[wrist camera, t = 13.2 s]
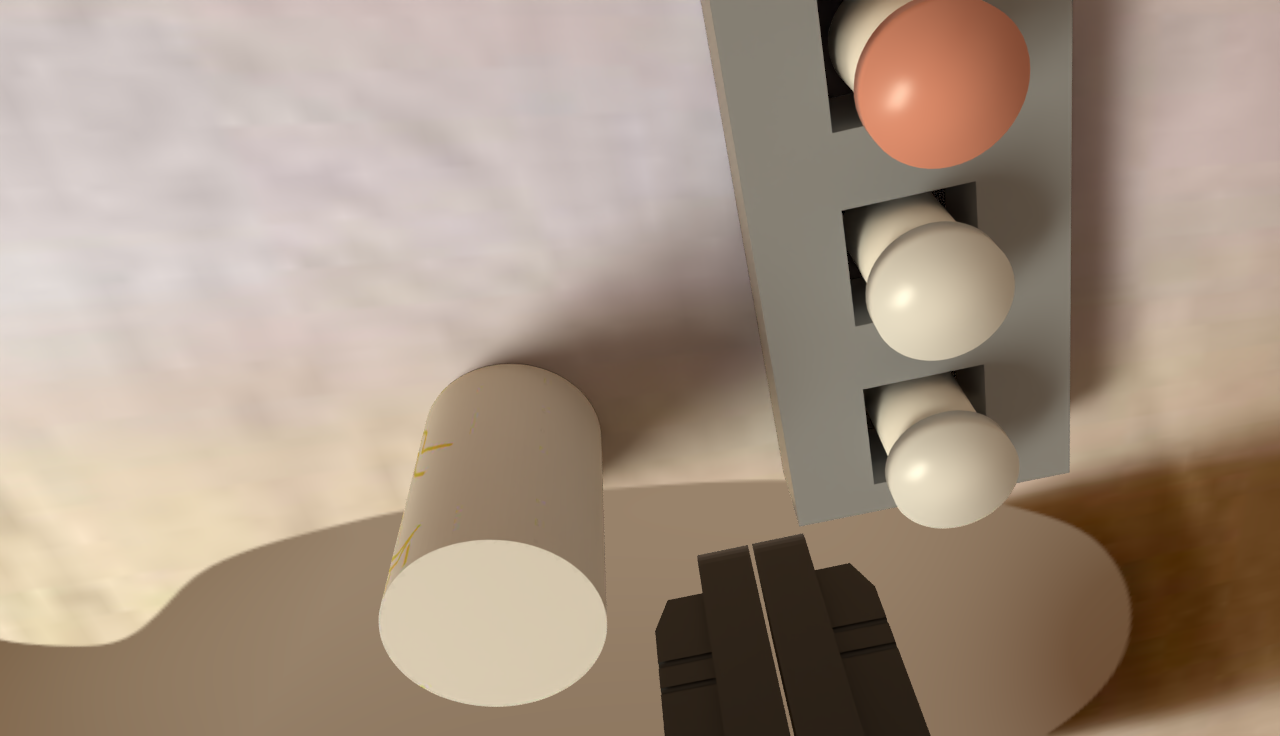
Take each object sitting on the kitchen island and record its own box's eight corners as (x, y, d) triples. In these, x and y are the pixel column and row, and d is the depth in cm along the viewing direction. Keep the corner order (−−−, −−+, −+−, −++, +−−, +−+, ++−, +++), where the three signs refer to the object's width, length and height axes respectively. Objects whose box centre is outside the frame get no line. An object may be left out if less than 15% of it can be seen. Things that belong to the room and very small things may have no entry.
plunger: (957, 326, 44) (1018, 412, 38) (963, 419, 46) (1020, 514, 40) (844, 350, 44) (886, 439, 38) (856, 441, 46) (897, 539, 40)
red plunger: (949, -54, 34) (1029, -20, 28) (957, 89, 37) (1031, 148, 31) (805, -20, 34) (853, 20, 28) (822, 119, 37) (869, 184, 31)
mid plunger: (947, 152, 40) (1013, 218, 34) (954, 264, 42) (1016, 344, 36) (822, 180, 40) (865, 249, 34) (836, 289, 42) (879, 373, 36)
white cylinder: (410, 371, 44) (357, 550, 34) (593, 356, 44) (596, 530, 34) (440, 516, 48) (401, 715, 38) (608, 502, 48) (615, 697, 38)
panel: (1024, -131, 35) (1073, -122, 32) (1033, 422, 47) (1069, 472, 44) (691, -52, 36) (703, -35, 32) (783, 473, 48) (799, 526, 44)
